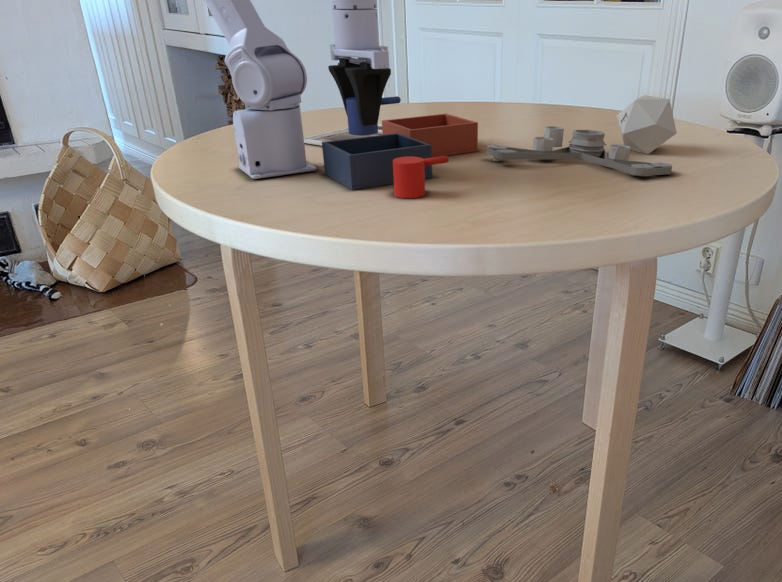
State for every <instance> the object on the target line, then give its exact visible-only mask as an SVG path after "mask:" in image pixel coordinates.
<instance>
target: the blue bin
mask: <svg viewBox="0 0 782 582" xmlns="http://www.w3.org/2000/svg"><path fill="white" fill-rule="evenodd" d="M321 148H322V150H321V151H322V159H323V167H324V175H326V176H327V177H329V178H331V179H333V180H334V181H336V182H338V183H340V184H342V185H343V186H345V187H347V188H348V189H349V190H351V191H354V190H361V189H368V188H375V187H381V186H387V185H394V176H393V160H394V159H395V158H399V157H408V156H412V157H420V158H423V159H426V158H433V157H432V147H431V145H430V144H427V143H425V142H422V141H419V140H416V139H414V138H411V137H408V136H405V135H403V134H400V133H396V134H395V133H394V134H386V135H378V136H369V137H361V138H352V139H344V140H336V141H327V142H322V146H321ZM424 170H425V180H426V179H432V178H433V165H428V166H424Z"/></svg>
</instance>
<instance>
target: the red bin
mask: <svg viewBox="0 0 782 582" xmlns="http://www.w3.org/2000/svg"><path fill="white" fill-rule="evenodd" d="M381 125H382V132H383V135H386V134H394V133H395V134H396V133H400V134H403V135H405V136H408V137H411V138H414V139H416V140H419V141H422V142H425V143H427V144H430V145H431V147H432V158H433V157H440V156H447V157H448V156H453V155H459V154H468V153H474V152H478V150H479V149H478V144H479V140H478V139H479V138H478V137H479V122H477V121H475V120H470V119H467V118H463V117H460V116H456V115H453V114H450V113H439V114H438V113H437V114H429V115H421V116H419V115H418V116H411V117H402V118H400V117H399V118H392V119H384V120H383V119H382V120H381Z"/></svg>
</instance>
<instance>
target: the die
mask: <svg viewBox="0 0 782 582" xmlns="http://www.w3.org/2000/svg"><path fill="white" fill-rule="evenodd" d="M616 119H617V123H618V129H619V132H620V135H621V139H622V140H621V141H622V145H625V146H629V147H630V151H633V152H637V153H640V154H644V155H649V154H651V153H652V152H653V151H654V150H656V149H657V148H659V147H661V145H663V144H665V143H666V142H667V141H668V140H670V139H671V138H673V137H674V136H676V135H677V134H678V132H677V127H676V123H675V119H674V113H673V109H672V104H671V100H670V98H664V97H660V96H659V97H658V96H652V95H647V94H643V95H642V96H640V97H637V98H636V99H634V100H633V101H632V102H631V103H630V104H628V105H627V106H626V107H625V108H624V109H623V110H622V111H620V112H619V113H618V114H617V115H616Z"/></svg>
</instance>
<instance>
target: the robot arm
mask: <svg viewBox="0 0 782 582" xmlns="http://www.w3.org/2000/svg"><path fill="white" fill-rule="evenodd" d="M330 1H331V2H330V4H331V15H332V24H333V36H334V37H333V38H334V44H330V45H329V48H330V49H329V50H330V59H331V61H339V62H337V64H331V65H328V66H327V67H328V71H329V73H330V74H331V76H332V78H333V80H334V82H335V84H336V86H337V88H338V91H339V94H340V97H341V100H342V103H343V107H344V110H345V114H346V115H347V105H346V99H347V98H350V97H356V102H357V108H358V113H359V118H360V122H361V124H362V125H363V126H367V125H376V124H377V123H378V124H379V118H380V112H381V106H382V105H381V100H382V98H383V95H384V92H385V89H386V86H387V84H388V81H389V78H390V76H391V75H392V69H391V68H390V54H389V46H387V45H380V30H379V29H380V28H379V27H380V26H379V12H378V11H379V10H378V0H330ZM203 2H204V3H205V5H206V7H207V8H208V10H209V12H210V14H211V16H212V17H213V19H214V22H216V24H217V26H218V27H219V29H220V31H221V34H223V36H224V38H225V40H226V41H227V43H228V45H229V46H228V49H227V51H226V54H225V57H224V64H225V66H226V68H227V69H228V70H229V71H228V72H229V73H230V76H231V82H232V85H233V89H234V91H235V93H236V95H237V97H238V98H239V100H240V101H241V102H243V103H244V107H245V108H244V109H238V110H235V111H233V114H232V126H233V132H234V133H233V134H234V139H235V144H236V152H237V156H238V157H237V159H238V162H239V163H238V164H239V165H238V169H240V170H241V171H242V172H244V173H245V174H246V175H248V176H249V178H251V179H253V180H256V179H265V178H272V177H279V176H285V175H286V176H287V175H293V174H300V173H301V174H302V173H309V172H316V171H317V167H316V166H314V165H313V164H312V163H310V162H308V161H307V155H306V147H305V143H304V138H305V137H304V128H303V119H302V112H301V103H302V97H301V96H302V95H303V93H304V92H305V90H306V88H307V84H308V75H307V70H306V67H305V65H304V63H303V62H302V60H301V59H300V58H299V57H298V56H297V55H296V54H294V53H293V52H292V51H291V50H290V49H289V48H288V46H287V45H286V42H285V41H284V39H282V38H281V37H280V36H278V35H277V34H276V33H274V32H273V31H271V30H270V29H269V28H267V27H266V26H265V24H264V23H263V20H262V19H261V17H260V15H259V13H258V12H257V10H256V8H255V6H254V4H253V3H252V0H203Z"/></svg>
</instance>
